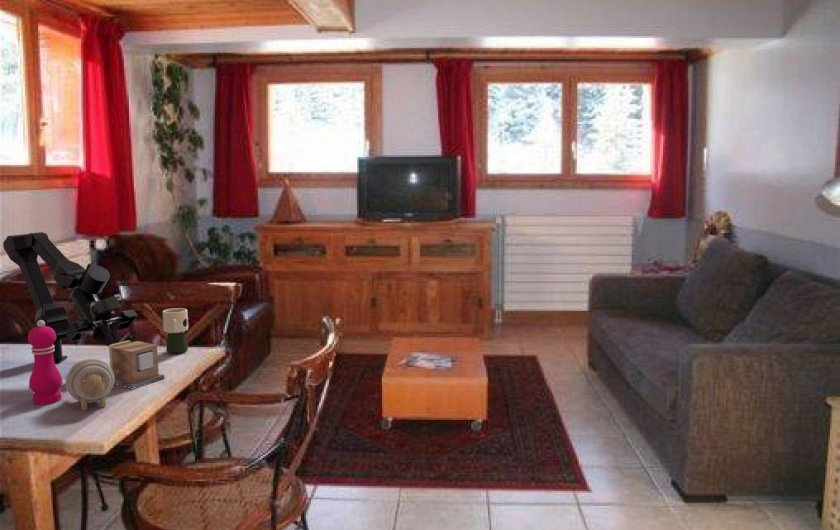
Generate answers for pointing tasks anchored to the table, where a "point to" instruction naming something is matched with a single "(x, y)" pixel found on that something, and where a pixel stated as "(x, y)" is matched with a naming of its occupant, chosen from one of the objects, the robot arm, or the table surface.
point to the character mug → (176, 329)
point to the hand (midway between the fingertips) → (118, 349)
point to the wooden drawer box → (133, 364)
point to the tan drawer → (142, 358)
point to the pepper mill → (44, 366)
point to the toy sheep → (90, 381)
